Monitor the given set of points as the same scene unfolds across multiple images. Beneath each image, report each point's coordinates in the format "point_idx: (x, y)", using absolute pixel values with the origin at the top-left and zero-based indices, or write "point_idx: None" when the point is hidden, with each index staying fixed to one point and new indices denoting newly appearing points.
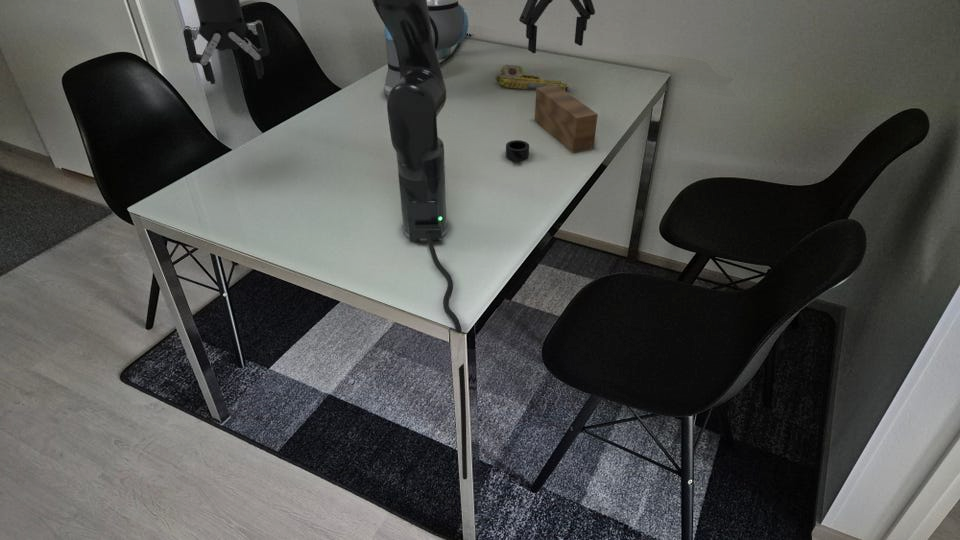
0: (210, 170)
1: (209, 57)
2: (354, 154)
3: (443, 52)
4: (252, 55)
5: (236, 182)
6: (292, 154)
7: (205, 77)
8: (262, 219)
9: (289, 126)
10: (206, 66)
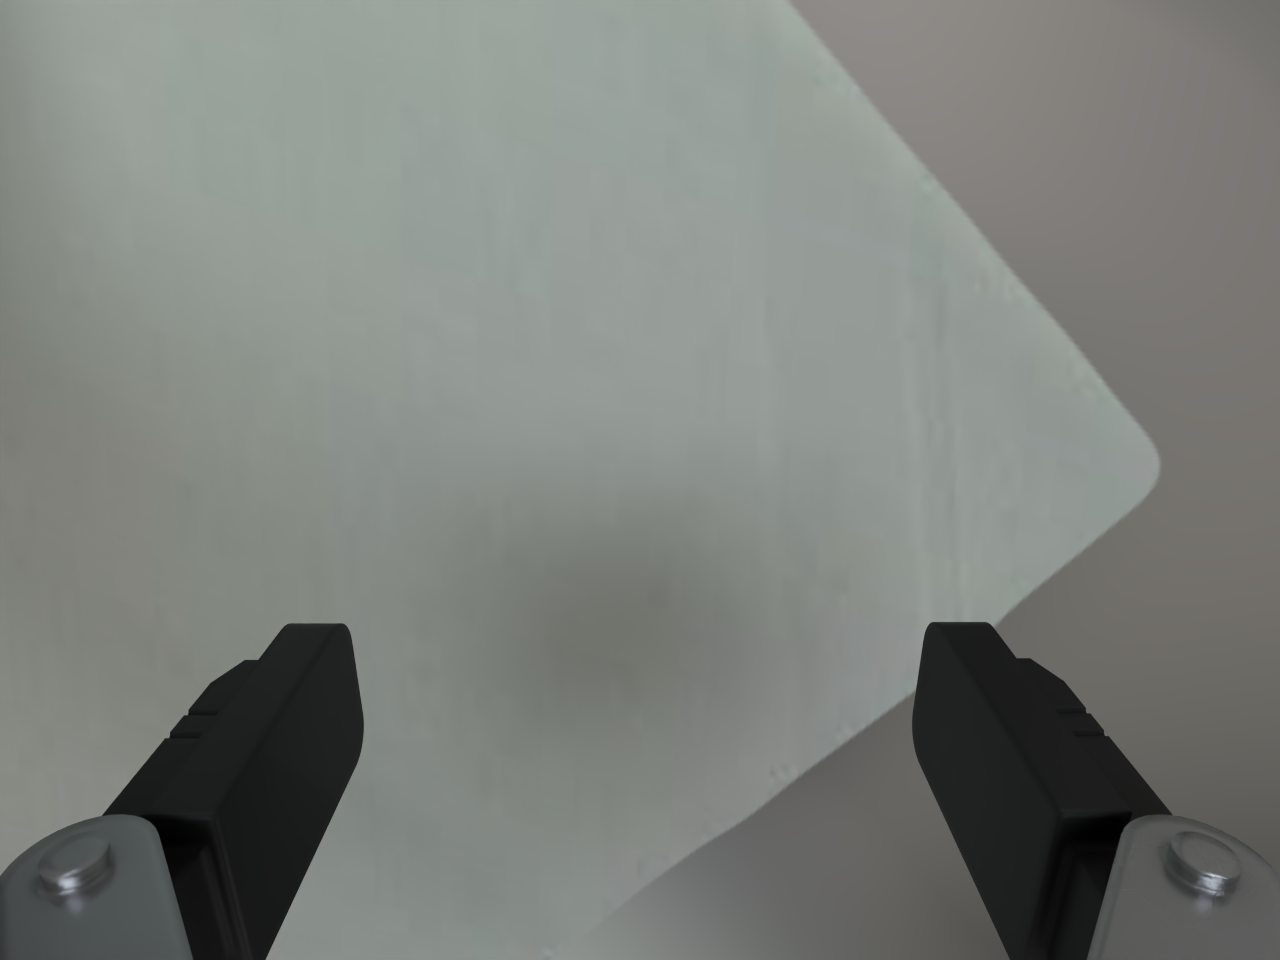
0: (861, 706)
1: (1110, 948)
2: None
3: None
4: (143, 899)
5: (764, 585)
6: (524, 743)
7: (1073, 697)
8: (669, 234)
9: (533, 951)
10: (1117, 799)
